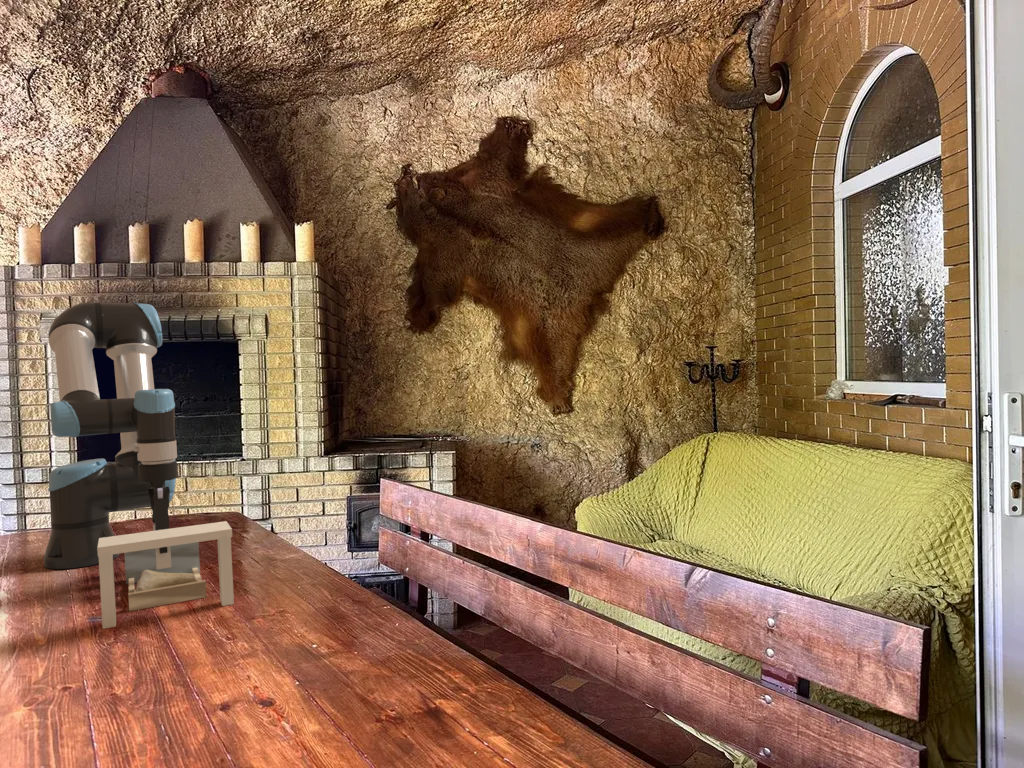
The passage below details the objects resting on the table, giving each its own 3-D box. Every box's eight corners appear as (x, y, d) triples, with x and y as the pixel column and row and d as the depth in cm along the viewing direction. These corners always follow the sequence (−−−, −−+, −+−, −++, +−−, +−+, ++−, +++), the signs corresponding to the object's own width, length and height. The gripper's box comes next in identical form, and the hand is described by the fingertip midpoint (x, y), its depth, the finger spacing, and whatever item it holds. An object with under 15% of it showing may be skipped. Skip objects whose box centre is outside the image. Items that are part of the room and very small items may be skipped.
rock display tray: (126, 579, 146) (123, 537, 146) (198, 568, 153) (196, 527, 153) (126, 611, 126) (123, 562, 126) (209, 596, 133) (206, 550, 133)
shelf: (103, 619, 123) (99, 538, 122) (230, 596, 133) (226, 521, 132) (102, 633, 116) (97, 547, 115) (235, 607, 126) (231, 528, 125)
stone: (137, 602, 130) (136, 577, 129) (126, 596, 134) (124, 571, 134) (198, 587, 138) (197, 563, 138) (186, 582, 142) (184, 558, 142)
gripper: (136, 456, 156) (141, 549, 157) (138, 470, 134) (143, 578, 135) (173, 453, 160) (178, 544, 161) (181, 466, 138) (186, 571, 139)
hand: (162, 560), depth 148 cm, fingers open, 13 cm apart
